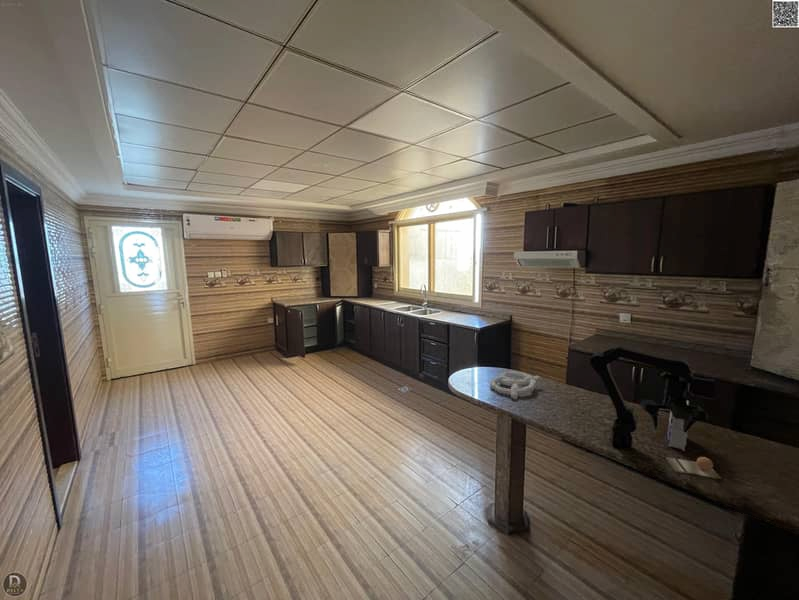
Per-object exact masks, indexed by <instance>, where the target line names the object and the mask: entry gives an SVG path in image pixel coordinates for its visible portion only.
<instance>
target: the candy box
mask: <svg viewBox="0 0 799 600" xmlns="http://www.w3.org/2000/svg"><path fill="white" fill-rule="evenodd" d="M687 405H690V401H689V400H687ZM668 421H669V422H668V427H667V428H668V429H667V447H670V448H673V449H677V450H679V451H683V452H685V451H686V450H687V449H686V448H687V442H688V434H689V430H688V431H687V432H686V433H685V432H684V431H683V425H684V419H677V418H674V417H673V414H672V412H671V411H669V420H668Z"/></svg>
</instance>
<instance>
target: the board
mask: <svg viewBox="0 0 799 600" xmlns="http://www.w3.org/2000/svg"><path fill="white" fill-rule="evenodd" d="M665 459H666V461H667V462H668V463H669V464H670V466H671V467H672V469H673V470H674V471H675V472H677V473H682V474H687V475H692V474H693V475H692V476H698V475H699V476H700V477H704V478H710V477H711V478H710V479H717V480H722V477H721V476H720V475H719V474H718V473H717V472H716V470H715V469H713V468H714V467H713V468H712V469H711V470H703V469H701V468H700V467H699V466H698V465H697V461H693V460H688V459H687V460H686V459H681V458H680V459H679V458H676V457H667V456H666V457H665Z"/></svg>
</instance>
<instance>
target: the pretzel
mask: <svg viewBox="0 0 799 600" xmlns="http://www.w3.org/2000/svg"><path fill="white" fill-rule="evenodd" d="M512 377H513V378H512ZM516 378H520V379H516ZM541 379H542V378H541V376H539V375H535V376H533V375H531V374H528V373H525V372H523V371H516V370H509V371H503V373H501V374H500V375H499V376H497V377H495V378H492V379H491V380H490V381H489V387H490V389H491V388H492V389H494V390H495V391H494V390H493V391H494V392H496V391H497V392H496V393H498V392H499V393H498V394H500V393H503V394H502V395H505V394H507V396H510V395H511V396H510V398H511V399H512V398H513V400H517V399H518V397H519V396H524V395H527V394H529V393H532V392H533V391H534V390H535V388H536V386H537V382H540V380H541ZM499 383H501V384H500V385H503V386H511V387H510V388H505V387H501V386H500V385H497V384H499ZM528 384H529V385H528ZM525 385H527V386H525ZM519 386H524V387H522V388H520V387H519ZM492 389H491V390H492Z"/></svg>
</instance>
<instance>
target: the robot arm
mask: <svg viewBox="0 0 799 600" xmlns="http://www.w3.org/2000/svg"><path fill="white" fill-rule="evenodd" d="M620 358H622V359H626V360H629V361H633V362H637V363H640V364H645V365H648V366H652V367H656V368H658V369H660V370H662V371H663V372H662V373H661V374H660V378H662V379H665V380H666V383H665V389H663V394H664V397H663V399H662V401H661V403H662V404H660V403H659V404H658V403H657V402H656V401H655V400H652V399H644V398H643V399H642V400H641V401H640V406H641V407H642V409H643V410H644V411H645V412H646V413H648V414H649V416H650V418H651V421H652V424H653V425H652V426H653V427H654V429H657V427H658V417H659V416H660V414H659V412H660V410H661V411H667V412H670V411H671V412H672V414H673V417H674V418H677V419H684V425H683V431H684V432H685V433H686V432H687V431H688V432H689V430H690V428H691V427H692V426H693V424H695V423H696V422H702V421H703V420H704V421H706V420H708V412H706V410H704V408H702V407H701V406H700V405H693V404H692V405H691V404H689V405H687V401H688V400H687V397H686V391H687V392H689V393H690V394H691V395H692V396H695V397H698V398H699V397H700V398H705V399H707V400H708V399H710V400H715V396H716V395H715V394H716V391H715V389H716V388H715V383H716V381H715V379H711V378H703V377H702V378H701V377H698V376H697V377H696V376H694V373H693V372H692V370H690V365H689V362H688V360H686V359H685V358H684V357H680V356H673V355H656V354H654V353H649V352H645V351H641V350H637V349H632V348H628V347H625V346H623V345H616V346H615V347H613V348H612V347H611V348H610V349H607V350H605V351H603V352H602V351H601V352H599V351H598V352H595V353H593V354H592V356H591V357H590V360H589V364H590V366H591V368H592V369H593V370H594V372H595V373H596V374H597V375H598V376H599V377H600V379H601V381H602V383H603V385H604V387H605V389H606V391H607V394H608V395H609V399H610V400H611V402H612V404H613V406H614V409H615V411H616V413H615V414H616V418H615V419H614V420H613V424H612V427H610V428H611V429H610V437H608V440H609V442H610V444H611V446H612V447H613V448H617V449H623V450H629V451H632V446H633V444H632V443H633V435H632V433H634V432H636V430H637V425H638V421H639V416H638V415H637V414H636V411H635V408H633V407H632V408H629V406H628V405H627V404H626V402H625V400H624V397H623V396H622V395H623V394H622V393H621V391H620V389H619V387H618V384H617V382H616V380H615V377H614V376H613V375H612V374H613V373H612V370H611V365H610V364H611V363H612V362H615V361H616V360H618V359H620ZM687 386H688V388H687ZM687 389H688V390H687Z"/></svg>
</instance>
